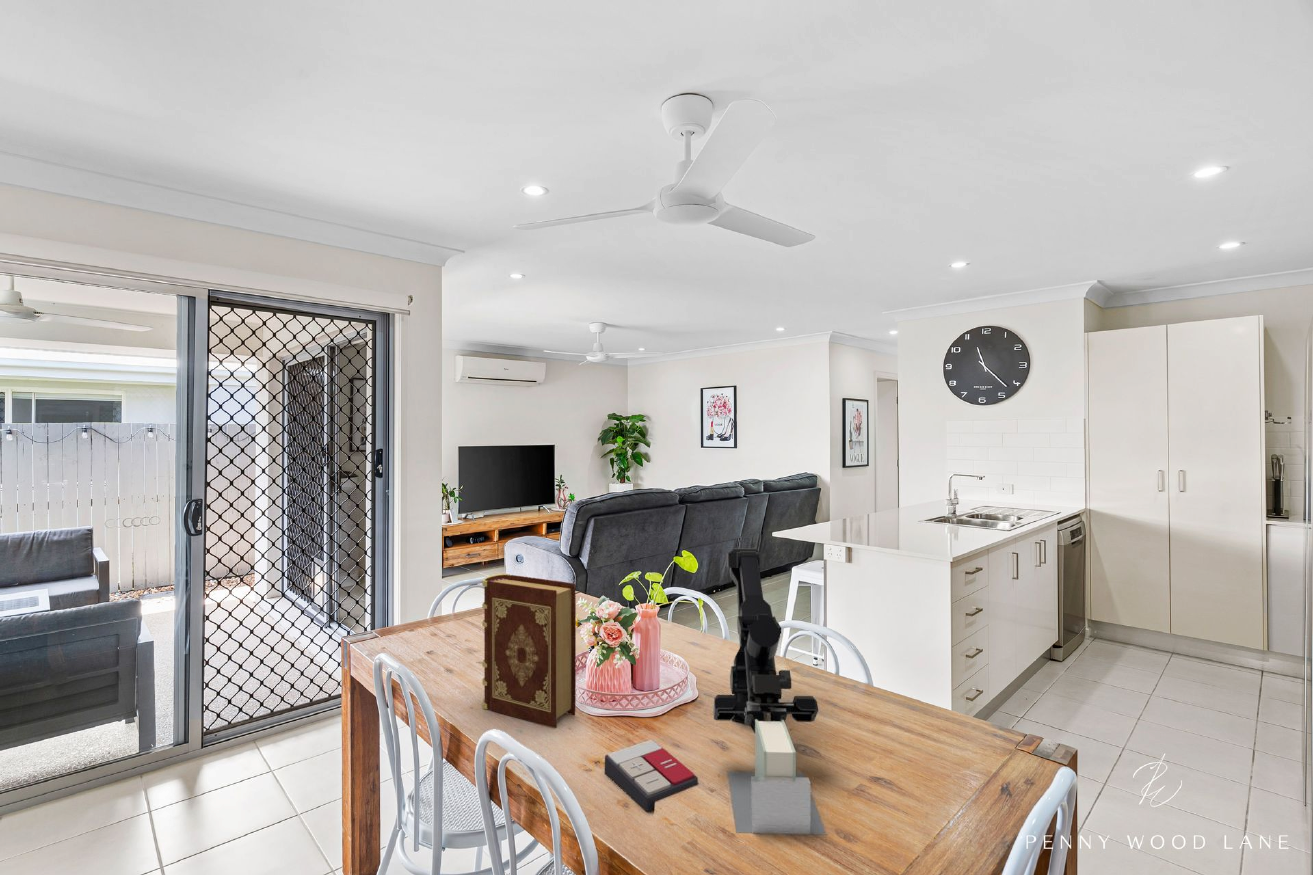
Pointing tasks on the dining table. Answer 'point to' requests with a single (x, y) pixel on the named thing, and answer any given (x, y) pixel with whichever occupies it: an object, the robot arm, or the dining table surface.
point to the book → (773, 750)
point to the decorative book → (529, 647)
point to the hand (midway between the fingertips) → (769, 757)
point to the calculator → (648, 773)
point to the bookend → (780, 805)
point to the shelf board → (742, 804)
